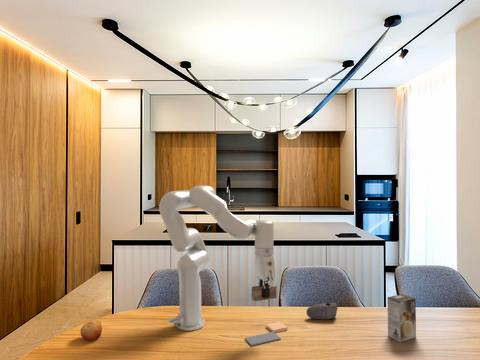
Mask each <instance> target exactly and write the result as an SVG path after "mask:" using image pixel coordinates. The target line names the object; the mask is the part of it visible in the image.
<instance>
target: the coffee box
mask: <svg viewBox="0 0 480 360" xmlns="http://www.w3.org/2000/svg"><path fill="white" fill-rule="evenodd" d="M416 300H417V299H416V298H415V297H412V296H410V295H407V294H403V293H402V294H401V293H400V294H397V295H396V294H395V295H392V296H388V297H387V336H388V337H390V338H391V339H393V340H396V341H397V342H400V343H402V342H406V341H409V340H412V339H415V338H417V321H416V320H417V316H416V314H417V313H416V311H417V310H416V309H417V306H416V304H417V302H416Z"/></svg>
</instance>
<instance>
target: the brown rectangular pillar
mask: <svg viewBox="0 0 480 360" xmlns="http://www.w3.org/2000/svg"><path fill="white" fill-rule="evenodd" d="M277 287H278V286H277V285H276V284H274V283H273V284H272V285H270V297H269V298H262V288H263V286H259V285H255V286H251V300H252V301H253V302H259V301H260V302H261V301H267V300H273V299H277Z"/></svg>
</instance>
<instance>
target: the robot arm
mask: <svg viewBox="0 0 480 360" xmlns="http://www.w3.org/2000/svg"><path fill="white" fill-rule="evenodd" d="M195 207H197V208H198V209H200V210H202V211H204V212H205V213H206V214H208V215H209V216H210V217H212V218H213V219H214V220H215V222H216V223H217V225H218V226H219V227H220V228H221V229H222V230H223V231H224V232H226V233H227V234H229V235H230V236H231V237H233V238H234V239H237V240H240V241H242V240H243V241H244V240H246V239H249V238H251V237H254V255H255V259H254V260H255V261H254V275H255V276H256V278H257V286H263V288H262V298H269V297H270V285H272V284H274V282H273V281H275V280H276V268H275V267H276V266H275V257H274V238H275V237H274V234H275V233H274V223H273V221H271V220H267V219H265V220H263V219H262V220H261V219H260V220H259V219H255V218H245V219H242V220H241V219H240V218H238V217H237V216H235V215H234V214H233V213H231V211H230V210H229V209H228V204H227V201H225V200H224V199H222V198H220V196H218V195H217V193H216V190H215V189H214V188H213V187H212V186H210V185H196V186H194V187H192V188H191V189H184V190H173V191H169V192H167V193H165V194H164V195H163V196H162V197H161V200H160V201H159V205H158V210H159V213H160V217H161V220H162V221H163V223H164V225H165V228H166V231H167V234H168V236H169V239H170V242H171V245H172V247H173V249H174V250H175V251H176V252H178V253H182V252H183V253H184V252H186V251H187V253H185V254H183V255H182V256H181V257H180V258H179V259H178V262H177V265H176V266H177V267H176V268H177V274H178V282H179V283H178V284H179V313H177V315H176V316H175V317H169V318H168V323H169V324H171V323H172V324H173V325H175V327H176V328H177V329H178V330H180V331H186V332H187V331H196V330H200V329H201V328H203V327H204V326H205V324H206V322H205V319H204V318H203V317H202V280H201V277H200V272H201V271H203V270H204V269H206V268H207V267H208V266H209V263H210V255H209V252H208V249H207V247H206V244H205V242H204V238H203V237H202V235H201V233H200V232H199V230H197V229H196V228H194V227H187V224H186V223H185V220H184V218H183V216H182V215H181V213H179V210H184V209H190V208H195Z"/></svg>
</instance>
